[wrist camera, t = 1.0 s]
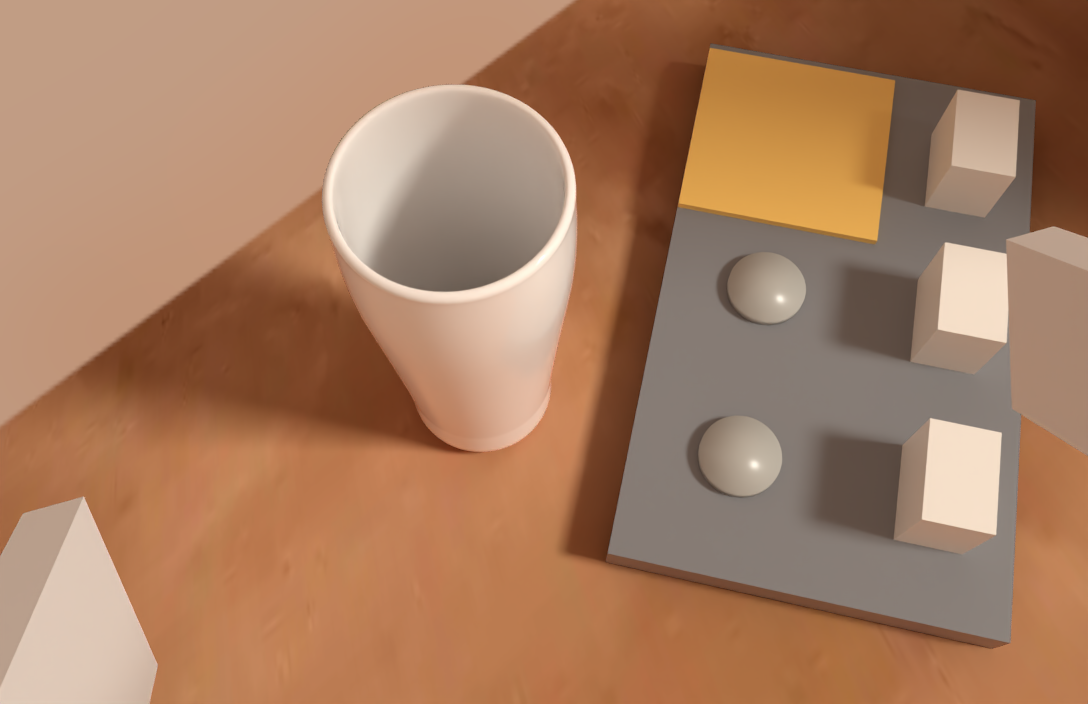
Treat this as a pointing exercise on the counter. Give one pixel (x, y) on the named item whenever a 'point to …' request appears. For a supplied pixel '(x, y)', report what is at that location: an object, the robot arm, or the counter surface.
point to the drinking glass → (458, 253)
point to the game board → (837, 350)
